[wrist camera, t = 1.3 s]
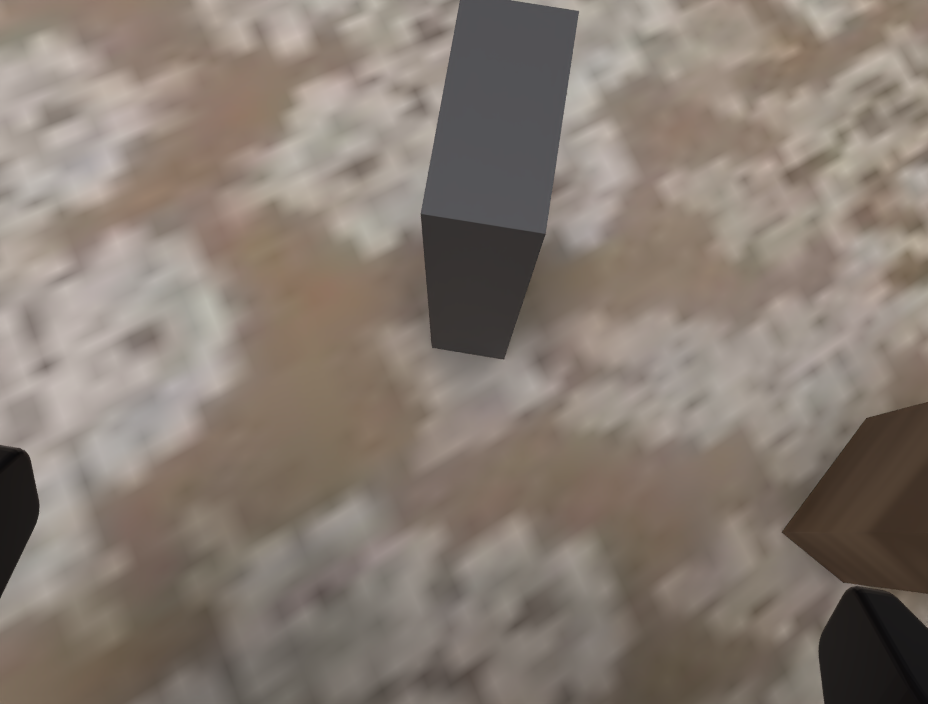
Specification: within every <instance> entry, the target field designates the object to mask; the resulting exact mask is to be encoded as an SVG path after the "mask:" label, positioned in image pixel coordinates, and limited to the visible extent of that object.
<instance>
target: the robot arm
mask: <svg viewBox="0 0 928 704" xmlns="http://www.w3.org/2000/svg"><path fill="white" fill-rule="evenodd" d="M38 515H39V498H38V493H37V489H36V484H35V479H34V474H33V469H32V464H31V460H30V457H29V455H28V454H27V452H26V451H25V450H22V449H21V448H15V447H9V446H3V445H0V598H1V596H2V594H3V592H4V589H5V587H6V585H7V583H8V581H9V579H10V577H11V575H12V573H13V571H14V569H15V567H16V565H17V563H18V561H19V558H20V556H21V554H22V552H23V550H24V548H25V546H26V544H27V542H28V540H29V538H30V536H31V534H32V532H33V530H34V527H35V525H36V523H37V519H38ZM819 663H820V671H821V680H822V688H823V696H824V704H928V628H927V627H926V626H925V625H924V624H923V623H922V622H921V621H920V620H919V619H918V618H917V617H916V616H915V615H914V614H913V613H912V612H911V611H910V610H909V609H908V608H907V607H906V606H905V605H904V604H903V603H902V602H901V601H900V600H899V599H898V598H897V597H895V596H894V595H893V594H891V593H890V592H887V591H884V590H878V589H872V588H866V587H859V586H854V587H851V588H849V589H848V590H846V592H845V593H844V594H843V596H842V598H841V599H840V601H839V603H838V605H837V607H836V608H835V610H834V612H833V614H832V615H831V617H830V619H829V621H828V623H827V624H826V626H825V628H824V630H823V632H822V634H821V637H820V641H819Z"/></svg>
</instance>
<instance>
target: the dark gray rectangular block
mask: <svg viewBox="0 0 928 704" xmlns="http://www.w3.org/2000/svg"><path fill="white" fill-rule="evenodd" d="M578 14H579V11H575V10H569V9H562V8H556V7H549V6H543V5H537V4H530V3H524V2H518V1H511V0H460V3H459V9H458V14H457V20H456V25H455V30H454V36H453V41H452V47H451V52H450V58H449V63H448V69H447V74H446V79H445V85H444V90H443V96H442V101H441V107H440V112H439V117H438V123H437V128H436V134H435V139H434V145H433V150H432V156H431V161H430V166H429V172H428V177H427V183H426V188H425V194H424V199H423V204H422V210H421V222H422V234H423V246H424V258H425V270H426V282H427V294H428V306H429V318H430V330H431V342H432V348H438V349H444V350H450V351H456V352H462V353H468V354H474V355H480V356H487V357H493V358H499V359H504V357H505V354H506V351H507V348H508V345H509V342H510V339H511V336H512V333H513V330H514V327H515V324H516V321H517V318H518V315H519V312H520V309H521V306H522V303H523V300H524V297H525V294H526V291H527V288H528V285H529V282H530V279H531V276H532V273H533V270H534V267H535V264H536V261H537V258H538V255H539V252H540V249H541V246H542V243H543V240H544V237H545V234H546V227H547V220H548V214H549V207H550V200H551V194H552V187H553V180H554V174H555V167H556V160H557V154H558V147H559V140H560V134H561V127H562V120H563V114H564V107H565V100H566V94H567V87H568V80H569V74H570V67H571V60H572V54H573V47H574V40H575V34H576V27H577V20H578Z"/></svg>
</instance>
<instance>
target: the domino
mask: <svg viewBox="0 0 928 704" xmlns="http://www.w3.org/2000/svg"><path fill="white" fill-rule="evenodd" d="M782 533H783V534H785V535H786V536H787V537H788V538H790V539H791V540H792V541H793V542H794V543H796V544H797V545H798V546H799V547H801V548H802V549H803V550H804V551H805V552H807V553H808V554H809V555H810V556H812V557H813V558H814V559H815V560H816V561H818V562H819V563H820V564H821V565H823V566H824V567H825V568H826V569H827V570H829V571H830V572H831V573H832V574H834V575H835V576H836V577H837V578H838V579H840V580H841V581H842V582H843V583H851V584H858V585H866V586H874V587H881V588H889V589H896V590H904V591H911V592H919V593H926V594H928V402H926V403H922V404H918V405H914V406H911V407H907V408H903V409H899V410H896V411H892V412H888V413H884V414H880V415H877V416H873V417H869V418H866V420H865V421H864V422H863V424H862V425H861V426H860V428H859V429H858V430H857V432H856V433H855V434H854V436H853V437H852V439H851V440H850V441H849V443H848V444H847V445H846V447H845V448H844V449H843V451H842V452H841V453H840V455H839V456H838V457H837V459H836V460H835V461H834V463H833V464H832V465H831V467H830V468H829V469H828V471H827V472H826V474H825V475H824V476H823V478H822V479H821V480H820V482H819V483H818V484H817V486H816V487H815V488H814V490H813V491H812V492H811V494H810V495H809V496H808V498H807V499H806V500H805V502H804V503H803V504H802V506H801V507H800V509H799V510H798V511H797V513H796V514H795V515H794V517H793V518H792V519H791V521H790V522H789V523H788V525H787V526H786V527H785V529H784V530H783V531H782Z"/></svg>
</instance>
